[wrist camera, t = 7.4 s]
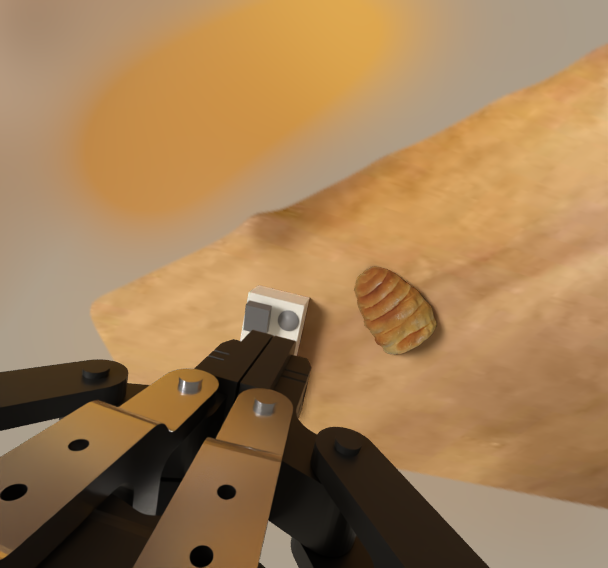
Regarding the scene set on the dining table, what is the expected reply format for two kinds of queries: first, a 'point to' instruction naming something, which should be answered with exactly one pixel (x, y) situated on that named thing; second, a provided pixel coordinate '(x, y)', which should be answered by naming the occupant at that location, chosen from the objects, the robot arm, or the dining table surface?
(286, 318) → the white switch panel
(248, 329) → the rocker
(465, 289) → the dining table surface
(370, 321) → the pastry
